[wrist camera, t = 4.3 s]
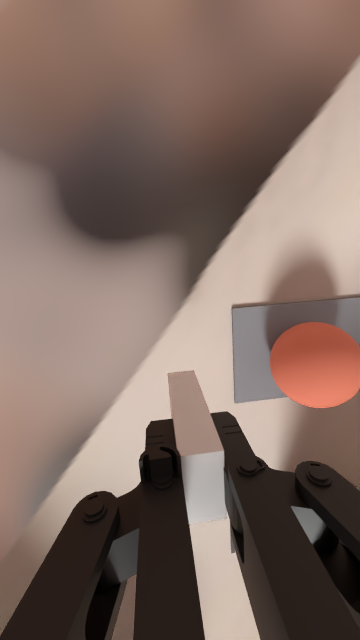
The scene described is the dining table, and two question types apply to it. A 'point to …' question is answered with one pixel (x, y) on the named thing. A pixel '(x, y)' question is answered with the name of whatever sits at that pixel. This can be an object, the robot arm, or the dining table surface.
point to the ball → (316, 364)
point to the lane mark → (265, 328)
